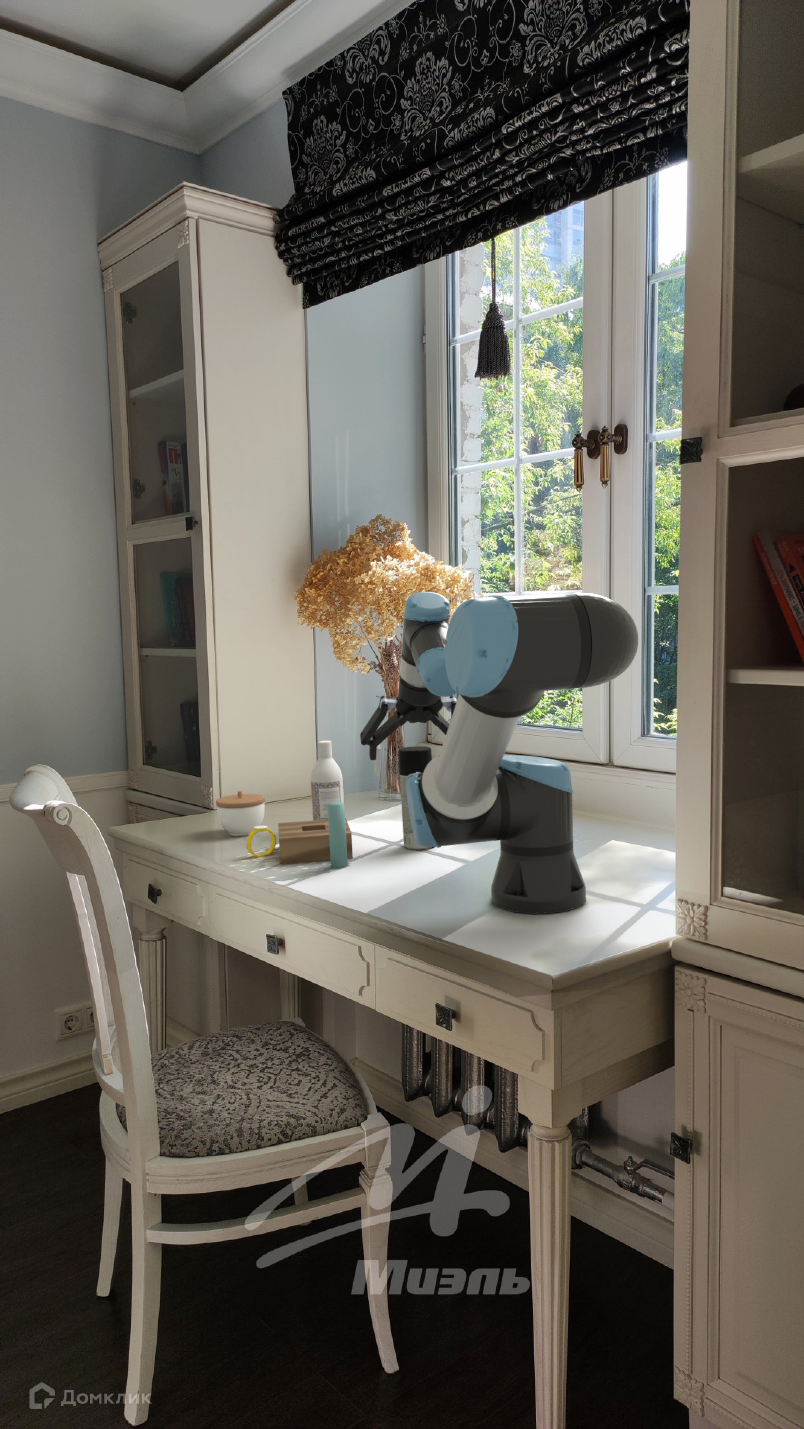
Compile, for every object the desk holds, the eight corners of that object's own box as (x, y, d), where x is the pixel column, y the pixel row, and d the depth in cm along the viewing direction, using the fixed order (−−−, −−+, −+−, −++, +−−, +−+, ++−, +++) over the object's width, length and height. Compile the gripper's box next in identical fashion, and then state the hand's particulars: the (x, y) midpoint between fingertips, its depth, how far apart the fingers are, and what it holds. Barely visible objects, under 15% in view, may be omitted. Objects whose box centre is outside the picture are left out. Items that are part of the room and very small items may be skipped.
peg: (348, 867, 182) (344, 804, 180) (331, 868, 181) (327, 805, 180) (347, 863, 185) (343, 801, 183) (330, 864, 184) (326, 802, 183)
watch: (271, 853, 197) (271, 824, 196) (278, 855, 194) (278, 826, 194) (244, 856, 193) (244, 827, 193) (251, 859, 191) (251, 829, 190)
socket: (352, 858, 188) (351, 832, 188) (280, 864, 186) (278, 838, 186) (347, 841, 202) (345, 817, 201) (279, 846, 200) (278, 823, 200)
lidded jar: (209, 837, 212) (206, 795, 211) (232, 826, 222) (230, 786, 221) (253, 839, 208) (250, 796, 207) (275, 827, 218) (272, 787, 217)
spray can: (433, 850, 191) (429, 750, 189) (400, 850, 192) (395, 751, 190) (439, 842, 197) (434, 745, 195) (406, 842, 199) (402, 746, 197)
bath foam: (321, 827, 216) (315, 739, 214) (350, 828, 214) (345, 739, 211) (308, 835, 209) (303, 743, 207) (338, 836, 207) (333, 743, 205)
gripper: (487, 664, 173) (475, 757, 185) (348, 665, 170) (345, 759, 182) (495, 688, 167) (482, 782, 179) (351, 689, 164) (347, 785, 176)
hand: (413, 771), depth 181 cm, fingers open, 13 cm apart
